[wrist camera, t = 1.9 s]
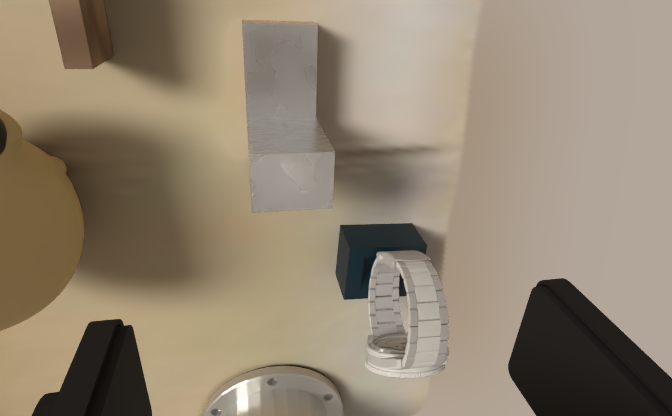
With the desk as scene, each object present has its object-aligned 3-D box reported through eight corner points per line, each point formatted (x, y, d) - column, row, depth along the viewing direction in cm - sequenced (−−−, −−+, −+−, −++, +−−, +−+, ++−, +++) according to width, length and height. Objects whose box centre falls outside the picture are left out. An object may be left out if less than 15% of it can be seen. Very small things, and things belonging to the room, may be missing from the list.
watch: (333, 294, 35) (369, 414, 25) (342, 203, 31) (387, 304, 22) (400, 290, 36) (458, 403, 27) (416, 202, 32) (490, 297, 23)
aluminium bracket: (310, 152, 29) (332, 208, 22) (248, 154, 28) (251, 212, 21) (312, 21, 25) (340, 39, 19) (241, 19, 25) (242, 37, 18)
